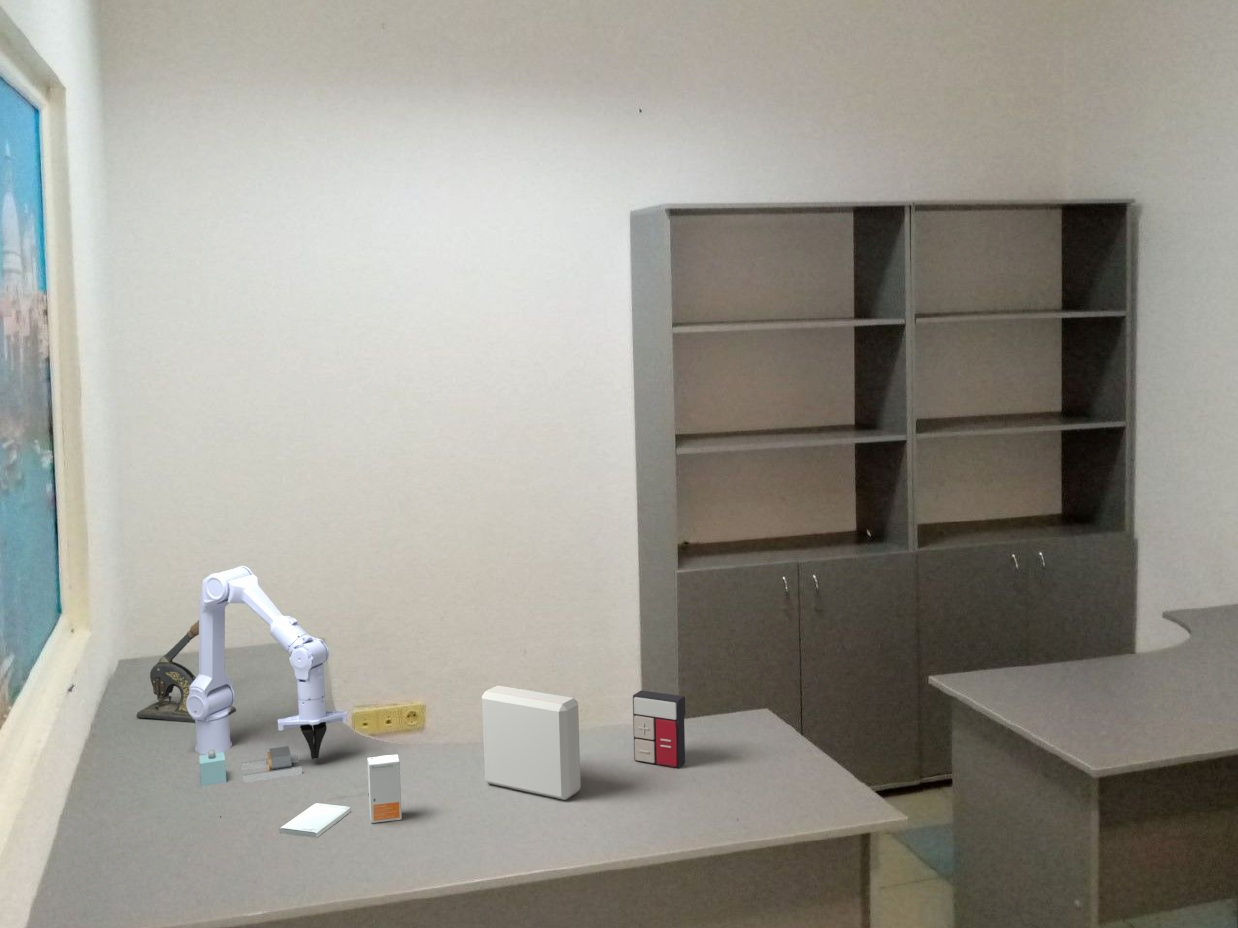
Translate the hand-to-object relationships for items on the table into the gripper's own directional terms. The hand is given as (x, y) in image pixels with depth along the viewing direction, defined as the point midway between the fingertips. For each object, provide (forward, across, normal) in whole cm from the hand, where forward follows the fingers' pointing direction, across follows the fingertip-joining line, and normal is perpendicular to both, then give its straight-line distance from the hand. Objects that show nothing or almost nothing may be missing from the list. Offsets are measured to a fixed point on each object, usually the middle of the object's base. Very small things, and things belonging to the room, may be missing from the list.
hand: (314, 756), depth 257 cm
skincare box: (+3, +10, -32) cm, 34 cm away
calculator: (+3, +70, -27) cm, 75 cm away
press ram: (+2, -7, 0) cm, 7 cm away
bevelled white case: (+3, +41, -29) cm, 50 cm away
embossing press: (+3, -25, +52) cm, 58 cm away
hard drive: (+4, -3, -28) cm, 29 cm away
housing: (+2, -21, 0) cm, 21 cm away
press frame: (+3, -14, 0) cm, 14 cm away
